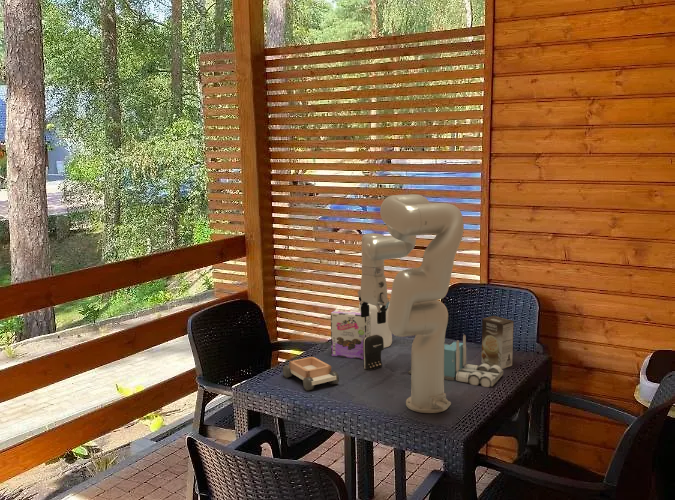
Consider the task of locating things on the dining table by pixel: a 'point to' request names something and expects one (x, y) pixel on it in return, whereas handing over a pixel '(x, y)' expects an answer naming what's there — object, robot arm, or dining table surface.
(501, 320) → the coffee box
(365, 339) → the battery charger
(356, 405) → the dining table surface
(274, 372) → the dining table surface
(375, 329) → the white jar
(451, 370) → the truck
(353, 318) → the candy box
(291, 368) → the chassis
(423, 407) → the robot arm
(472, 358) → the dining table surface
